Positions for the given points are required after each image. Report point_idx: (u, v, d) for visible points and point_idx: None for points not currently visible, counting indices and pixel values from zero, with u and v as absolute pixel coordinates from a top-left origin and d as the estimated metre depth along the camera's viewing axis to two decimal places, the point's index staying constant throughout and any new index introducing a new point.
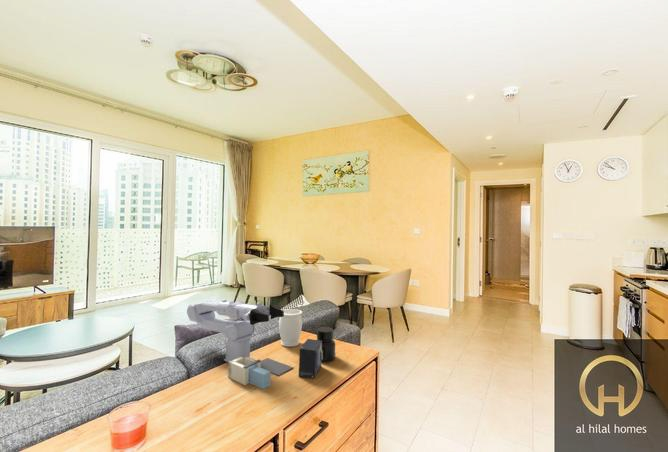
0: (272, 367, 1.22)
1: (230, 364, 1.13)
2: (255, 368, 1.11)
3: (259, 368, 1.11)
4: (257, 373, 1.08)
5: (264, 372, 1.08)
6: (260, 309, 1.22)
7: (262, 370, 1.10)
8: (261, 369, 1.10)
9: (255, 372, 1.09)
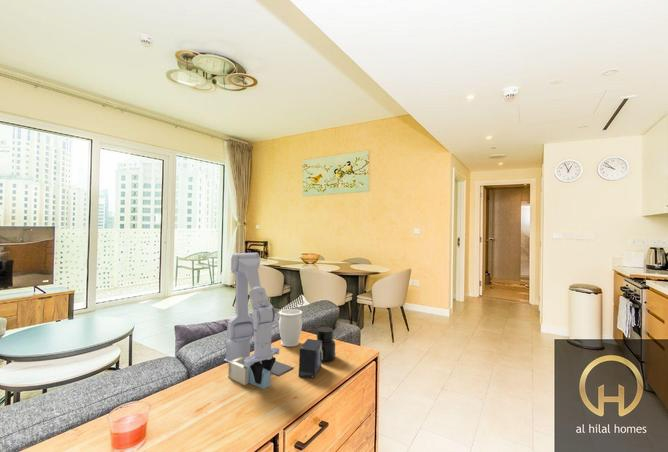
0: (272, 367, 1.22)
1: (230, 364, 1.13)
2: None
3: None
4: None
5: (264, 372, 1.08)
6: None
7: None
8: None
9: None
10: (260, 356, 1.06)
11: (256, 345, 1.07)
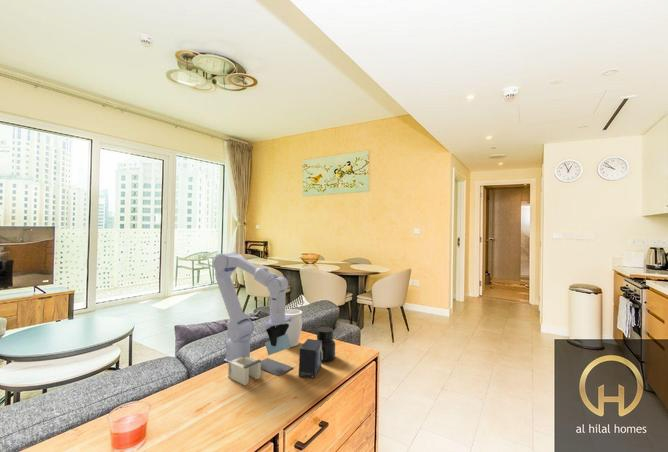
0: (272, 367, 1.22)
1: (230, 364, 1.13)
2: None
3: None
4: None
5: None
6: None
7: None
8: None
9: None
10: (275, 321, 1.19)
11: (272, 311, 1.19)
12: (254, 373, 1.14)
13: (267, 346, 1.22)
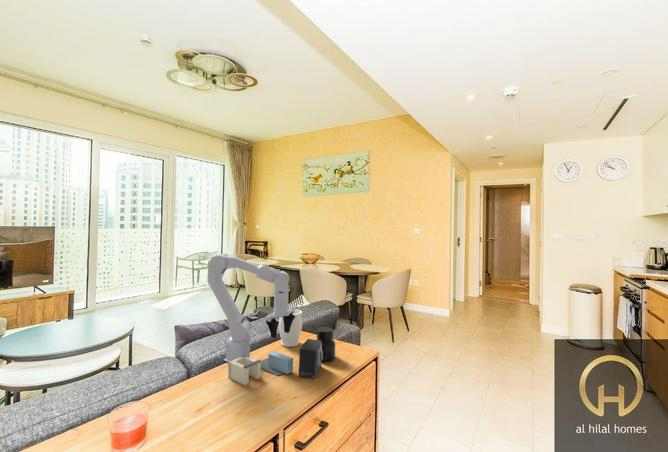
0: None
1: (230, 364, 1.13)
2: (279, 355, 1.21)
3: (282, 355, 1.21)
4: (281, 359, 1.18)
5: (287, 359, 1.18)
6: None
7: (285, 356, 1.20)
8: (284, 356, 1.20)
9: (279, 359, 1.19)
10: (279, 313, 1.26)
11: (276, 304, 1.27)
12: (254, 373, 1.14)
13: (270, 359, 1.22)
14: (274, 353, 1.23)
